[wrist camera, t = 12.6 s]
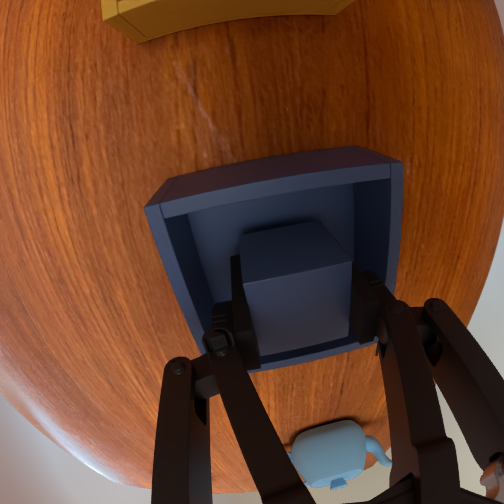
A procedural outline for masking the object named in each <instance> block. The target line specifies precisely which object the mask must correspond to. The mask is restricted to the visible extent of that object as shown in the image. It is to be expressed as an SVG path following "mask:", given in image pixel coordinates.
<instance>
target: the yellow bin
mask: <svg viewBox="0 0 504 504" xmlns="http://www.w3.org/2000/svg"><path fill="white" fill-rule="evenodd" d="M354 1H355V0H101V6H102V17H103V21H104V22H106V23H107V24H109V25H110V26H112V27H114V28H115V29H117V30H118V31H120V32H121V33H123V34H124V35H126V36H127V37H129V38H130V39H131V40H133V41H134V42H136V43H137V44H140V43H143V42H145V41H148V40H151V39H155V38H158V37H161V36H164V35H168V34H171V33H175V32H179V31H182V30H186V29H191V28H195V27H199V26H204V25H209V24H214V23H219V22H225V21H231V20H238V19H246V18H255V17H265V16H279V15H336V14H338V13H339V12H340V11H341V10H343V9H344V8H346V7H347V6H348V5H350V4H351V3H352V2H354Z"/></svg>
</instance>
